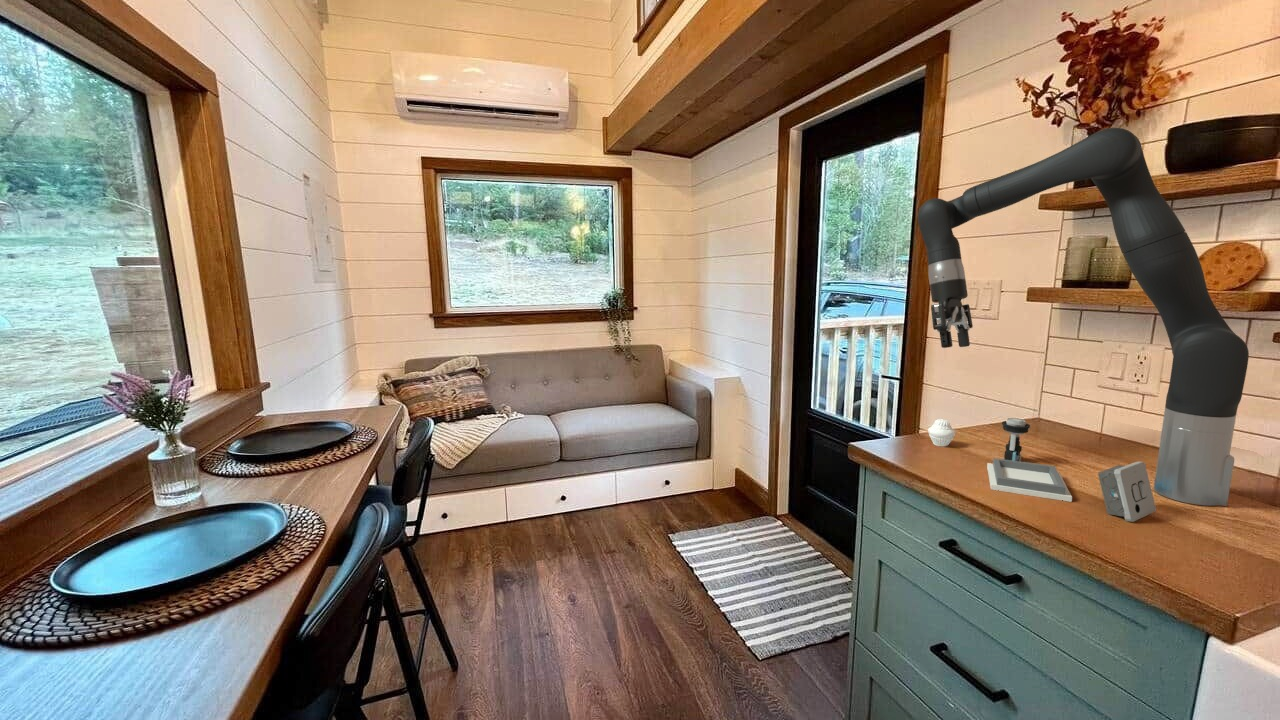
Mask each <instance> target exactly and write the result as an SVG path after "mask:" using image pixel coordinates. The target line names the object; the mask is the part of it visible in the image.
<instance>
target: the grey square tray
mask: <svg viewBox="0 0 1280 720" xmlns="http://www.w3.org/2000/svg"><path fill="white" fill-rule="evenodd" d="M986 464H987V465H986V468H987V474H988V475H987V476H988V479H989V480H988V481H989V486H990V490H992V491H998V490H999V491H1000V492H1006V493H1013V494H1019V495H1025V496H1031V497H1038V498H1044V499H1050V500H1055V501H1062V500H1063V501H1062V502H1070V503H1072V501H1073V496H1072V494H1071V492H1070V491H1069V489H1068V487H1067V485H1066V482H1065V481H1064V480H1065V479H1063V476H1062V475H1061V473H1060V472H1058V469H1057V468H1056V465H1048V464H1041V463H1033V462H1027V461H1019V460H1017V461H1012V460H1004V458H995V457H993V460H992V463H991V462H987V463H986Z"/></svg>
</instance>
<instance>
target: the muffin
mask: <svg viewBox="0 0 1280 720" xmlns="http://www.w3.org/2000/svg"><path fill="white" fill-rule="evenodd" d="M927 432H928V436H929V437H930V439H931V442H932V443H933V445H934V446H937V447H944V448H945V447H948V446H949V445H950V443H951V442H952V441H953V439H954V437H955V435H956V430H955V429H954V428H953V427H952V425H951V423H950V421H949V420H947V419H943V418H938V419H935V420H934V423H933V424H932V426H930V427H929V428H928V429H927Z"/></svg>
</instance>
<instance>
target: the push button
mask: <svg viewBox="0 0 1280 720" xmlns="http://www.w3.org/2000/svg"><path fill="white" fill-rule="evenodd" d="M1001 425H1002V429H1003V431H1005V432H1006V433H1008V434H1010V435H1009V438H1008V442H1007V444H1005V451H1004V458H1003V459H1004V460H1012V461H1020V462H1022V461H1021V460H1022V454H1021V452H1022V450H1023V449H1022V448H1023V447H1022V445H1021V441H1020V438H1021V437H1020V435H1024V434H1027V433H1029V429H1030V427H1031V425H1030V424H1028V423H1026V420H1025V419H1023V418H1018V417H1008V418H1006V420H1004V421H1002V422H1001Z"/></svg>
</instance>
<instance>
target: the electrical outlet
mask: <svg viewBox="0 0 1280 720" xmlns="http://www.w3.org/2000/svg"><path fill="white" fill-rule="evenodd" d="M1097 475H1098V479H1099V483H1100V488H1101V491H1102V497H1103V500H1104V505H1105V509H1106V513H1107V515H1108V516H1109V515H1111V516H1118V517H1123V518H1124V520H1125V521H1126V522H1131V523H1134V522H1136V521H1138V520H1140V519H1142V518H1144V517H1147V516H1149V515H1151V514H1153V513H1155V512H1156V509H1157V508H1156V503H1155V499H1154V498H1155V497H1154V495H1153V491H1152V486H1151V482H1150V478H1149V476H1148V475H1149V474H1148V471H1147V466H1146V464H1145V462H1144V461H1135V462H1131V463H1130V464H1126V465H1119V464H1118V465H1115V466H1113V467H1110V468H1107V469H1104V470H1101V471H1099V472H1098V473H1097ZM1110 489H1112V490H1110ZM1111 493H1113V494H1114V497H1113V496H1112V494H1111Z"/></svg>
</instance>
